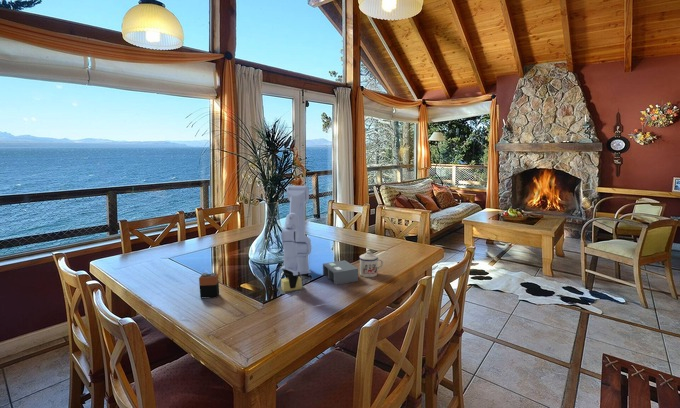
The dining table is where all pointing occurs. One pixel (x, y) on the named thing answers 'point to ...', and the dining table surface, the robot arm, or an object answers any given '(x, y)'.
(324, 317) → the dining table surface
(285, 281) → the yellow block
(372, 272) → the teacup with lid
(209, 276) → the battery
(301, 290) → the deck mat
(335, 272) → the socket box
